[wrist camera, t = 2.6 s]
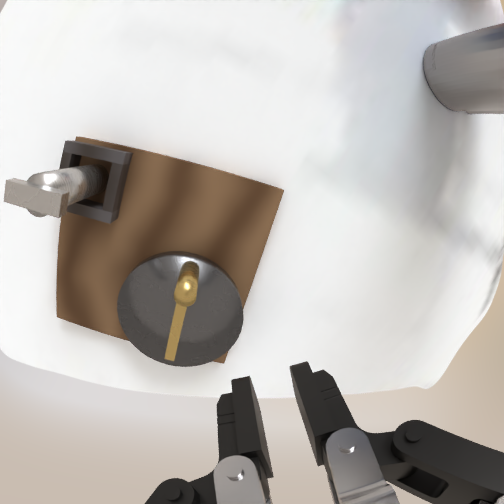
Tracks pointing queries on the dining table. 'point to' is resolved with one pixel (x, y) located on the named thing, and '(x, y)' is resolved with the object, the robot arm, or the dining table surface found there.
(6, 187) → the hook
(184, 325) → the handwheel
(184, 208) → the board
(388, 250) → the dining table surface
